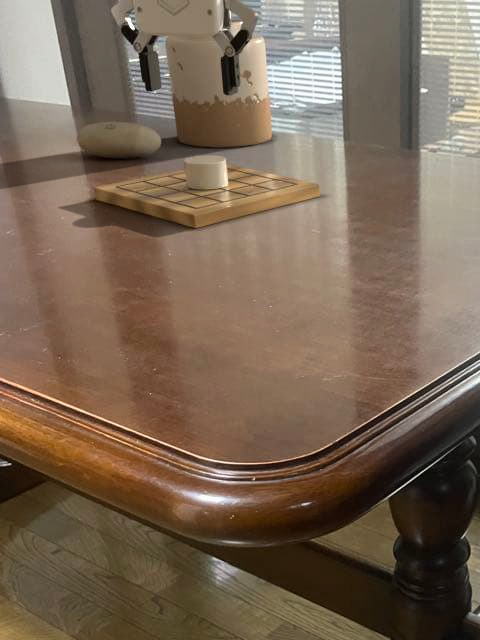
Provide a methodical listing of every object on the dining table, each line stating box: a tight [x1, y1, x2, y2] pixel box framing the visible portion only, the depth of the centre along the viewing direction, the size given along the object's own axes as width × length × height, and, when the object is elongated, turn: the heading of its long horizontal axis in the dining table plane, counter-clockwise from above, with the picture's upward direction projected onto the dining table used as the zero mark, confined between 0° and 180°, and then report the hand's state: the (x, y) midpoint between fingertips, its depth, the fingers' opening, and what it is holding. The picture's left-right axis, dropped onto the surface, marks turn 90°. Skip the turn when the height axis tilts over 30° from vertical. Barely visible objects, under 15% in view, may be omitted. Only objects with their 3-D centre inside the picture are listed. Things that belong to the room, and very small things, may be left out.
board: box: [93, 163, 321, 229], centre depth 111 cm, size 20×20×2 cm
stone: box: [76, 121, 162, 160], centre depth 130 cm, size 6×6×12 cm
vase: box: [164, 18, 273, 148], centre depth 139 cm, size 15×15×17 cm
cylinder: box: [183, 154, 229, 190], centre depth 110 cm, size 5×5×3 cm
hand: (192, 91), depth 104 cm, fingers open, 9 cm apart
